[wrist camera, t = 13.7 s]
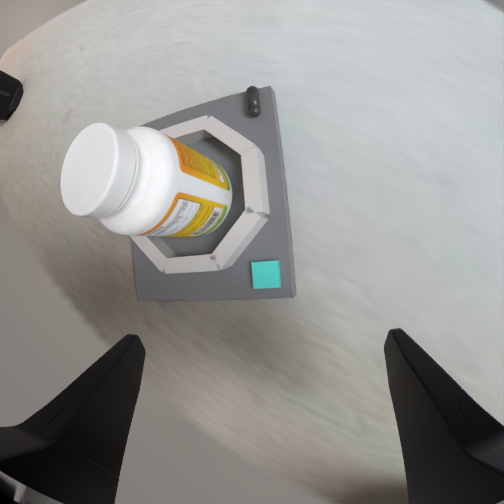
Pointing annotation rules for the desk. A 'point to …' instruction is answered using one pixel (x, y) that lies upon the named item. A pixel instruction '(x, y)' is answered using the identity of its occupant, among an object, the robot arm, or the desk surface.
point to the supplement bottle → (143, 183)
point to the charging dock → (240, 214)
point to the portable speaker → (9, 94)
